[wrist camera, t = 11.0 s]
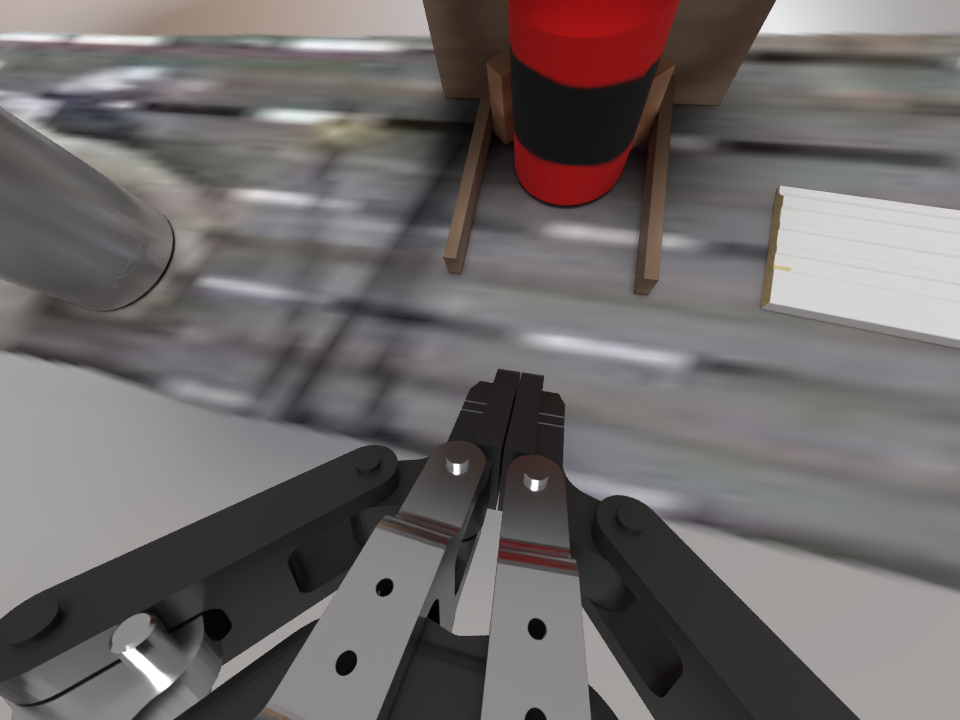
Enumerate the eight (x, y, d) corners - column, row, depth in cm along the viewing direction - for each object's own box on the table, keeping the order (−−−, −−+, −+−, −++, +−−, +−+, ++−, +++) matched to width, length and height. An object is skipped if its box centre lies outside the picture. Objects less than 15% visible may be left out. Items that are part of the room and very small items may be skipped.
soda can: (500, 142, 27) (480, -92, 15) (598, 106, 27) (651, -160, 15) (536, 224, 25) (543, 23, 13) (642, 186, 24) (744, -53, 13)
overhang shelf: (719, 82, 26) (1185, -822, 8) (710, 302, 22) (1628, -471, 4) (450, 77, 29) (320, -555, 11) (400, 267, 25) (68, -224, 7)
